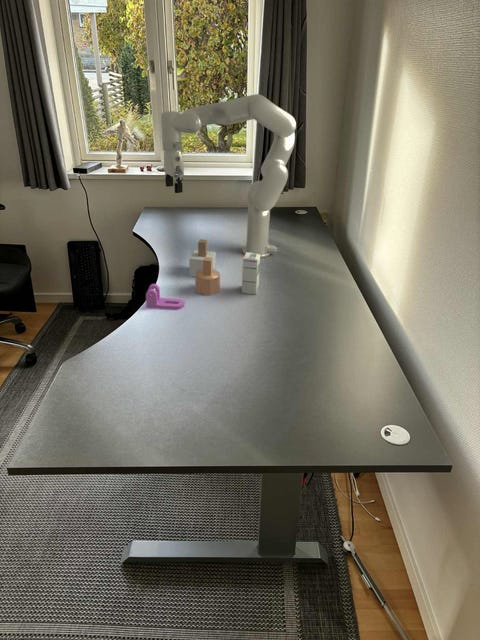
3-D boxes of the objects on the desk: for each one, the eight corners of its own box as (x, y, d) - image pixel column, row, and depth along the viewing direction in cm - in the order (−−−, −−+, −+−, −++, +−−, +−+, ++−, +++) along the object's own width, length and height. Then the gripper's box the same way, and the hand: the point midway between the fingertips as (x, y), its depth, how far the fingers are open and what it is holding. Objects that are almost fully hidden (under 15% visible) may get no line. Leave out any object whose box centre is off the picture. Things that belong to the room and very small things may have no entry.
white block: (215, 269, 202) (215, 238, 195) (211, 278, 195) (211, 246, 188) (194, 267, 203) (194, 236, 196) (189, 276, 196) (189, 244, 189)
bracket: (146, 308, 173) (145, 290, 169) (150, 300, 178) (149, 283, 174) (183, 310, 173) (182, 292, 169) (185, 302, 177) (185, 285, 174)
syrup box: (256, 294, 184) (258, 259, 177) (241, 292, 185) (242, 257, 178) (258, 288, 189) (261, 253, 182) (243, 286, 190) (245, 251, 183)
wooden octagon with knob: (221, 285, 190) (222, 255, 183) (217, 296, 182) (217, 265, 176) (198, 283, 191) (198, 253, 184) (193, 293, 183) (193, 262, 177)
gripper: (190, 149, 185) (191, 194, 194) (172, 140, 198) (174, 183, 207) (171, 151, 182) (173, 196, 191) (155, 142, 195) (157, 185, 204)
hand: (174, 189), depth 199 cm, fingers open, 9 cm apart
